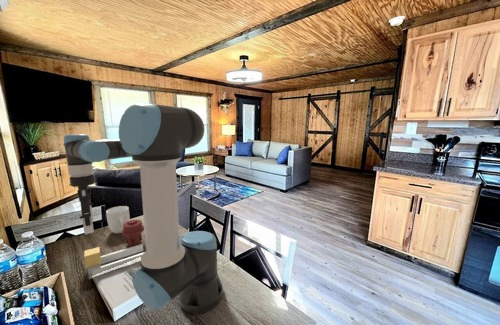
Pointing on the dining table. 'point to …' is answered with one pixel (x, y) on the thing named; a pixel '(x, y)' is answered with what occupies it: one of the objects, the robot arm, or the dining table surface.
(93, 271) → the white slotted console
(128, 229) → the mechanical component
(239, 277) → the dining table surface
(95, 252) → the block
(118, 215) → the mug
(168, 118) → the robot arm
